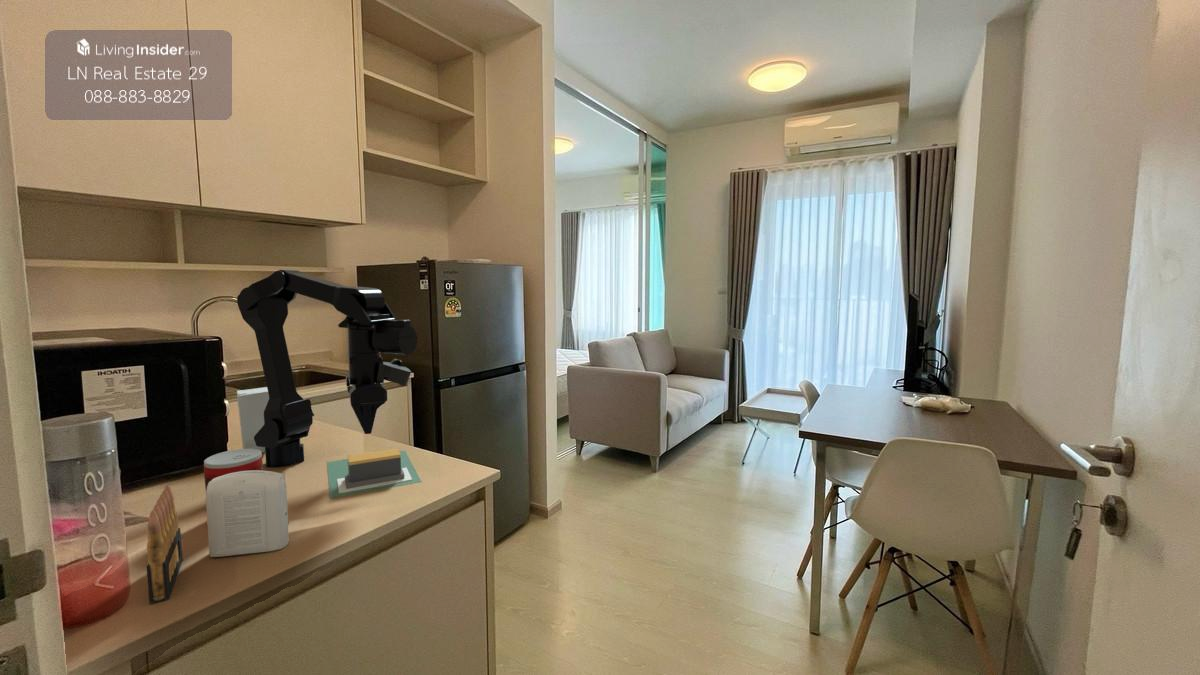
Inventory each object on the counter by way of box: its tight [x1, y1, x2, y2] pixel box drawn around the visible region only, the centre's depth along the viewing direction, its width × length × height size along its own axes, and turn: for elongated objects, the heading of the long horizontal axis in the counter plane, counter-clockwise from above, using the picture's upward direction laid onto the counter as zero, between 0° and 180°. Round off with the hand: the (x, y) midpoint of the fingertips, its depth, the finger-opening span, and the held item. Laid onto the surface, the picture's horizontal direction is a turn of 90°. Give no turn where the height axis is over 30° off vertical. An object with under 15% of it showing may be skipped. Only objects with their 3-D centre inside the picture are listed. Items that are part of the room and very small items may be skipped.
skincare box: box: [236, 386, 269, 454], centre depth 115 cm, size 8×6×15 cm
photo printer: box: [205, 470, 290, 558], centre depth 74 cm, size 10×4×12 cm, turn 107°
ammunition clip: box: [146, 484, 184, 605], centre depth 66 cm, size 11×2×12 cm, turn 33°
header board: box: [326, 449, 422, 499], centre depth 101 cm, size 16×20×6 cm
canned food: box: [203, 448, 264, 491], centre depth 83 cm, size 8×8×11 cm
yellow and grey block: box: [347, 447, 401, 482], centre depth 96 cm, size 9×4×4 cm, turn 121°
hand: (366, 426), depth 98 cm, fingers open, 9 cm apart
